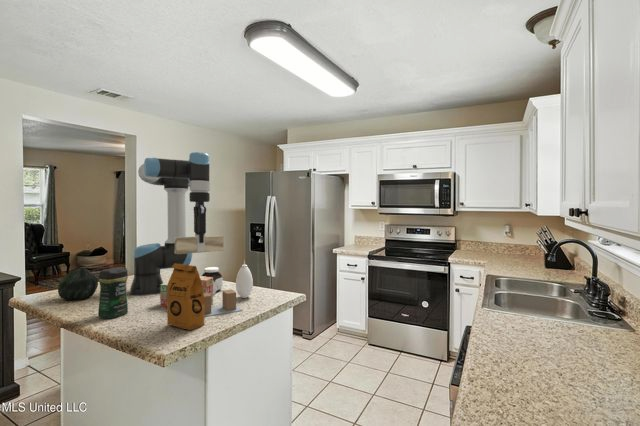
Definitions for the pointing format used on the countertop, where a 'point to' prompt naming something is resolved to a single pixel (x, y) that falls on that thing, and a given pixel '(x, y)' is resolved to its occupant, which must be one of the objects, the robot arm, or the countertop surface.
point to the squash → (77, 284)
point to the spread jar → (214, 277)
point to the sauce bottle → (244, 281)
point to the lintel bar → (190, 244)
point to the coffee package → (185, 298)
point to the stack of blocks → (206, 283)
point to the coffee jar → (113, 292)
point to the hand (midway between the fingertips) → (199, 250)
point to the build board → (221, 311)
